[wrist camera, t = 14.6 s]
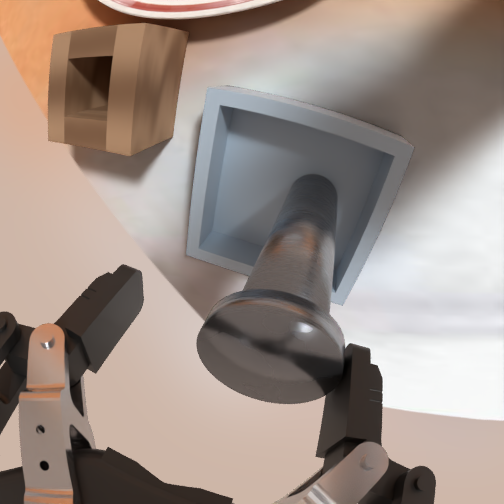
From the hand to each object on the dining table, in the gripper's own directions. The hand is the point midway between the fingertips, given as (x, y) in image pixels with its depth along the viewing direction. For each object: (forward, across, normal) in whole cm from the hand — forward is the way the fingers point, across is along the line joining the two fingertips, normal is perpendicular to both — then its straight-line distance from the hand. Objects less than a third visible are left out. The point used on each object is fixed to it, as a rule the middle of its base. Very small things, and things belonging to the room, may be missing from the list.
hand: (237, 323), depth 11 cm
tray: (+15, 0, 0) cm, 15 cm away
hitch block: (+15, +15, -6) cm, 22 cm away
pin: (+14, -2, 0) cm, 14 cm away
